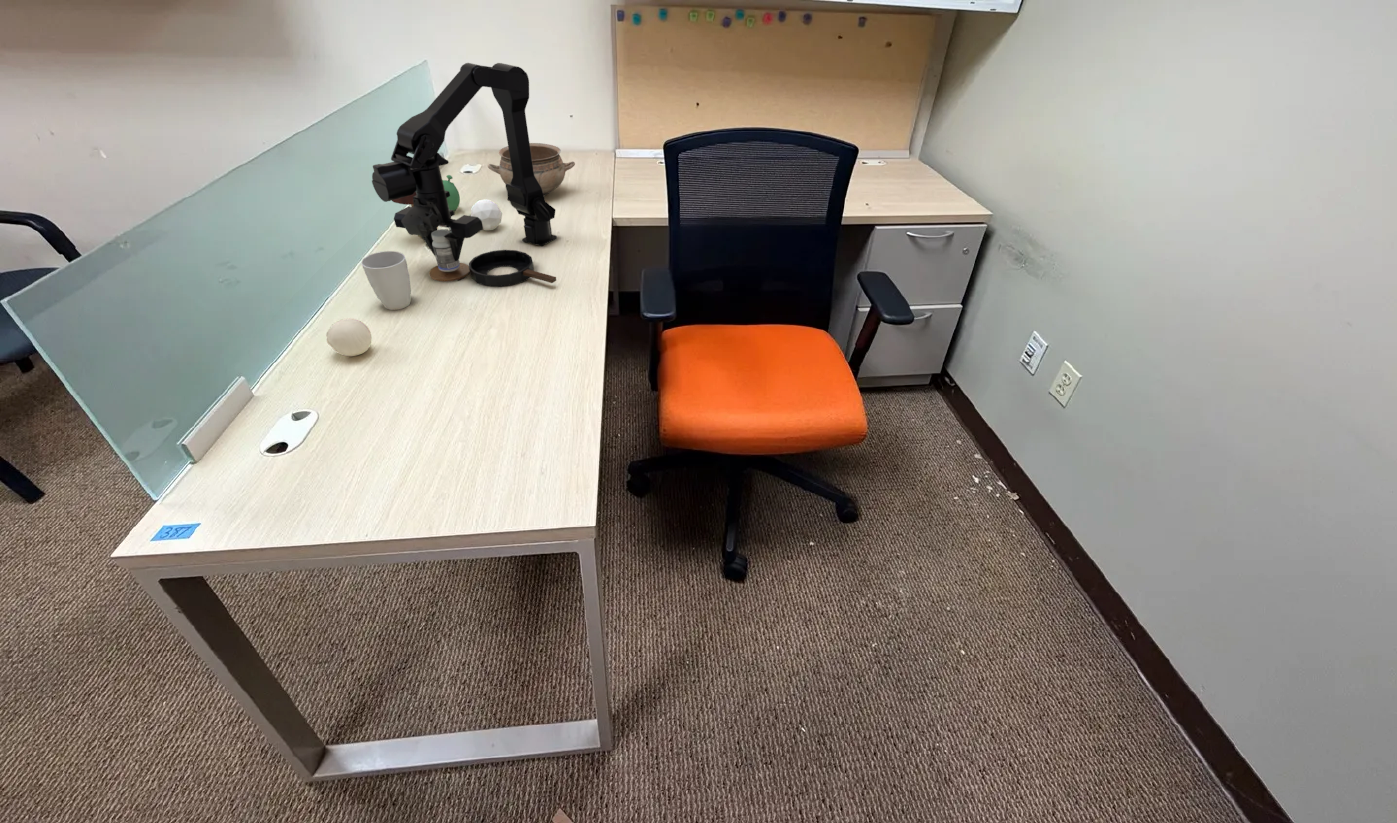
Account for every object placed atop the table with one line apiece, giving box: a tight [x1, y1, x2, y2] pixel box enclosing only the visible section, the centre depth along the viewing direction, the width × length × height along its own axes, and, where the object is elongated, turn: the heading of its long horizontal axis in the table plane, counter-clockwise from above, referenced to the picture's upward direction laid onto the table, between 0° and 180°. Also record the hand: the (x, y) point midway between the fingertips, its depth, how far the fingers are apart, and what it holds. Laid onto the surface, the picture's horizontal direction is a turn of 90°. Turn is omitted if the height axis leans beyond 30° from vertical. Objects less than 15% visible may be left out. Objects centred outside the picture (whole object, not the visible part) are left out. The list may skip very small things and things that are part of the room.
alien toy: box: [442, 174, 461, 212], centre depth 164 cm, size 7×8×10 cm
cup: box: [360, 250, 412, 311], centre depth 123 cm, size 8×8×10 cm
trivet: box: [428, 262, 471, 282], centre depth 138 cm, size 9×9×1 cm
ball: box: [470, 198, 503, 231], centre depth 156 cm, size 8×8×8 cm
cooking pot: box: [487, 142, 576, 197], centre depth 177 cm, size 25×19×12 cm
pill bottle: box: [431, 228, 461, 272], centre depth 135 cm, size 5×5×8 cm
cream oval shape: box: [325, 317, 373, 357], centre depth 109 cm, size 7×7×7 cm
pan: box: [468, 249, 557, 288], centre depth 137 cm, size 14×22×3 cm, turn 63°
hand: (447, 258), depth 136 cm, fingers closed on pill bottle, 5 cm apart
